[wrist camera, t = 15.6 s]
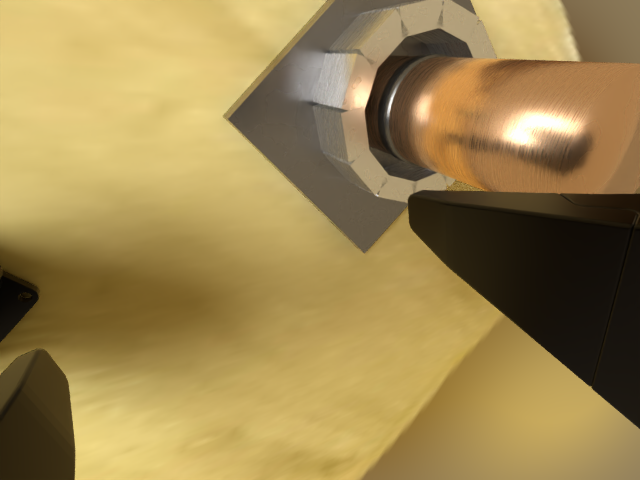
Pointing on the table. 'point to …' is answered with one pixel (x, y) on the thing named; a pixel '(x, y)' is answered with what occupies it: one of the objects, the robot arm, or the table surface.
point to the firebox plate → (295, 129)
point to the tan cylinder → (511, 122)
